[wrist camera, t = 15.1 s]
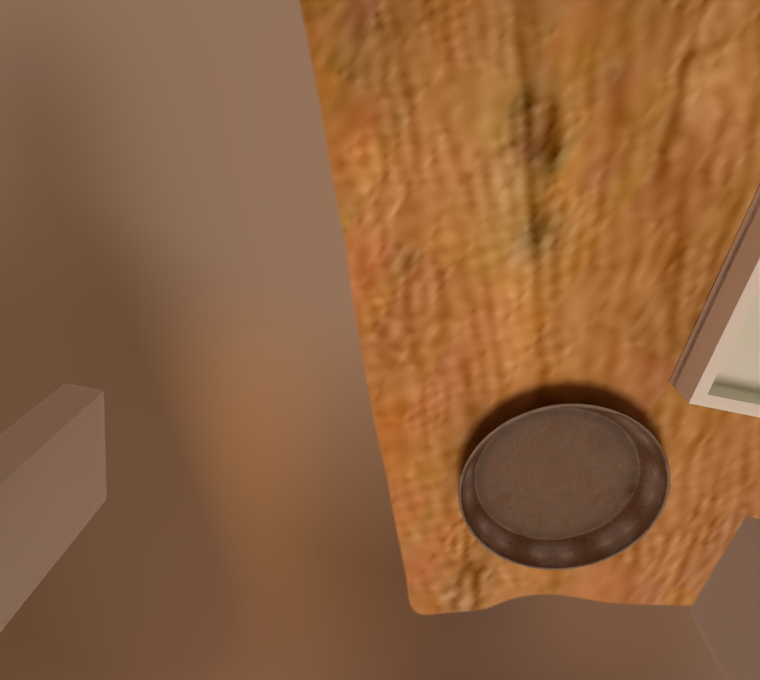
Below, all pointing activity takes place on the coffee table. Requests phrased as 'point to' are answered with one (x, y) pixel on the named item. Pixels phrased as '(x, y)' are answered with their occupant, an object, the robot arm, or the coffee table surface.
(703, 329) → the tray
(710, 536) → the coffee table surface
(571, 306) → the coffee table surface
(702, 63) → the coffee table surface
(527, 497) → the plant saucer
